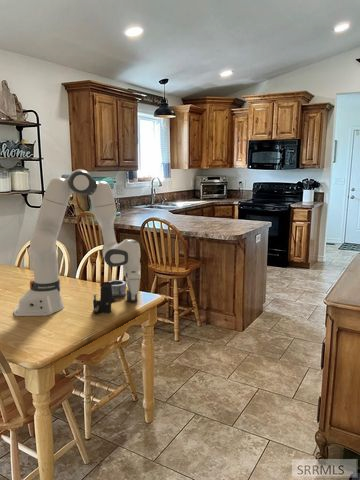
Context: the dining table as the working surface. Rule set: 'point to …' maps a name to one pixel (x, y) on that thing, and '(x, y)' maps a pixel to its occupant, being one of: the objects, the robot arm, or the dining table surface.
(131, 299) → the cap
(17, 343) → the dining table surface
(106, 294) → the scope
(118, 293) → the grey short cylinder
